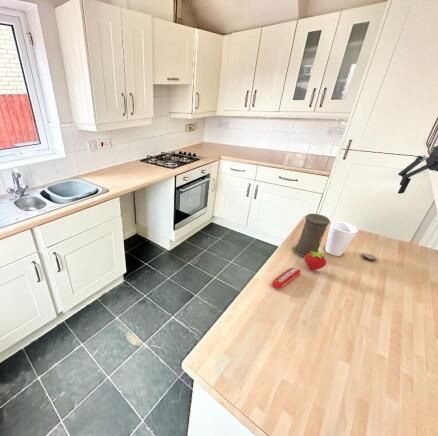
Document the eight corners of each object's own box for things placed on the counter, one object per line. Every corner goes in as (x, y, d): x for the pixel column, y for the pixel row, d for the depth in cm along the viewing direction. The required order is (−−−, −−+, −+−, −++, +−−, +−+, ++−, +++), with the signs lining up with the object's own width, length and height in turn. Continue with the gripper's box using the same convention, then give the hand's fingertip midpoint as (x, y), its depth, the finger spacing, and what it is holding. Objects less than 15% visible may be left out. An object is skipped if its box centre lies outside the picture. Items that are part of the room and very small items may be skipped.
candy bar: (291, 269, 100) (293, 264, 98) (300, 274, 97) (302, 269, 96) (269, 286, 92) (270, 280, 90) (278, 292, 89) (280, 286, 88)
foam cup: (335, 259, 105) (346, 234, 99) (316, 247, 113) (325, 223, 106) (351, 255, 107) (363, 230, 101) (331, 244, 115) (341, 220, 109)
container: (297, 257, 107) (309, 222, 98) (292, 245, 114) (302, 212, 106) (320, 260, 105) (334, 224, 96) (313, 248, 112) (326, 214, 104)
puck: (377, 260, 104) (378, 258, 103) (370, 262, 103) (371, 260, 102) (367, 254, 107) (368, 252, 107) (360, 256, 106) (361, 254, 106)
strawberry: (318, 278, 95) (327, 258, 90) (298, 269, 100) (305, 249, 95) (324, 271, 98) (332, 251, 93) (304, 262, 103) (311, 243, 99)
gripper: (402, 141, 99) (380, 189, 109) (494, 155, 78) (456, 213, 88) (415, 139, 101) (391, 187, 111) (508, 152, 80) (468, 210, 90)
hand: (420, 199), depth 99 cm, fingers open, 13 cm apart
